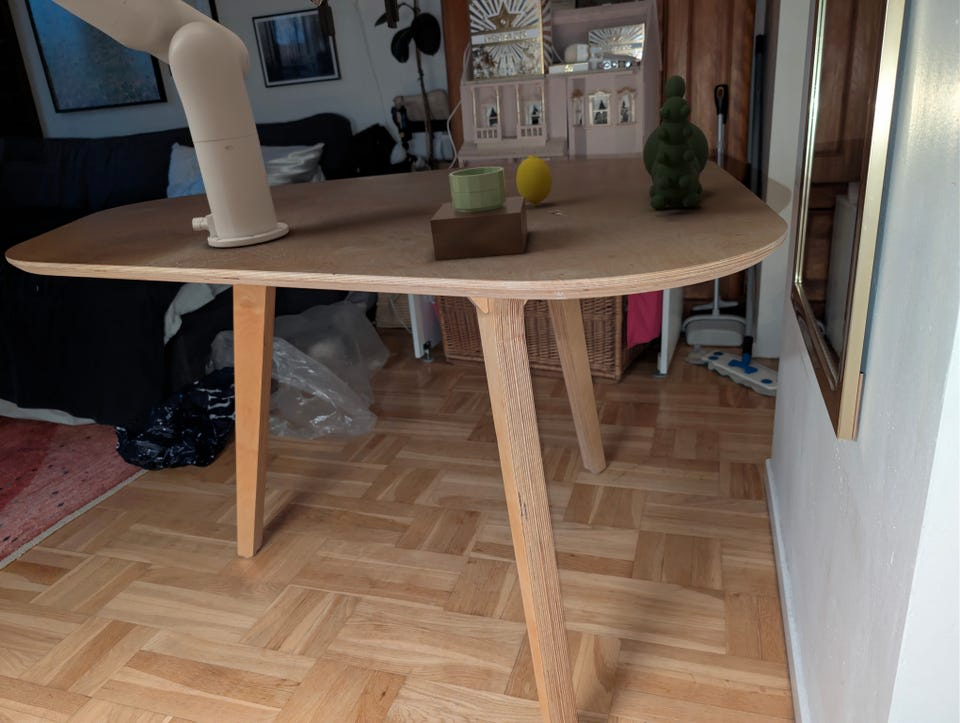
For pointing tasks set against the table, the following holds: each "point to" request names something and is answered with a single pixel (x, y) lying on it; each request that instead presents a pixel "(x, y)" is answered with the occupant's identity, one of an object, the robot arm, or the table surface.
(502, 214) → the stand
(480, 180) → the bowl
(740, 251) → the table surface
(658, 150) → the toy figurine
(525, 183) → the lemon
